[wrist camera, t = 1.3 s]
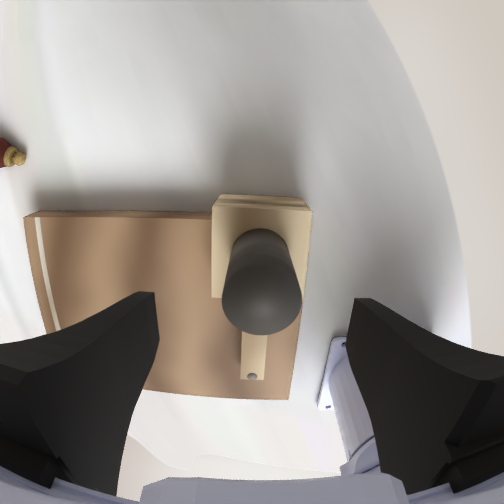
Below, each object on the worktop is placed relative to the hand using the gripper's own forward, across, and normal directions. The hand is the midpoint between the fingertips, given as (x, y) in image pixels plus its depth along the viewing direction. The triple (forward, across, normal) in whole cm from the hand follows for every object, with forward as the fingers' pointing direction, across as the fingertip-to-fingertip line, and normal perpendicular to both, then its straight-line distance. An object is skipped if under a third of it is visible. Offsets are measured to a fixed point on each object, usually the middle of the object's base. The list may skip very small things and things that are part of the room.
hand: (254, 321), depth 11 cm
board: (+10, +7, +5) cm, 14 cm away
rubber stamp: (+10, 0, +3) cm, 11 cm away
